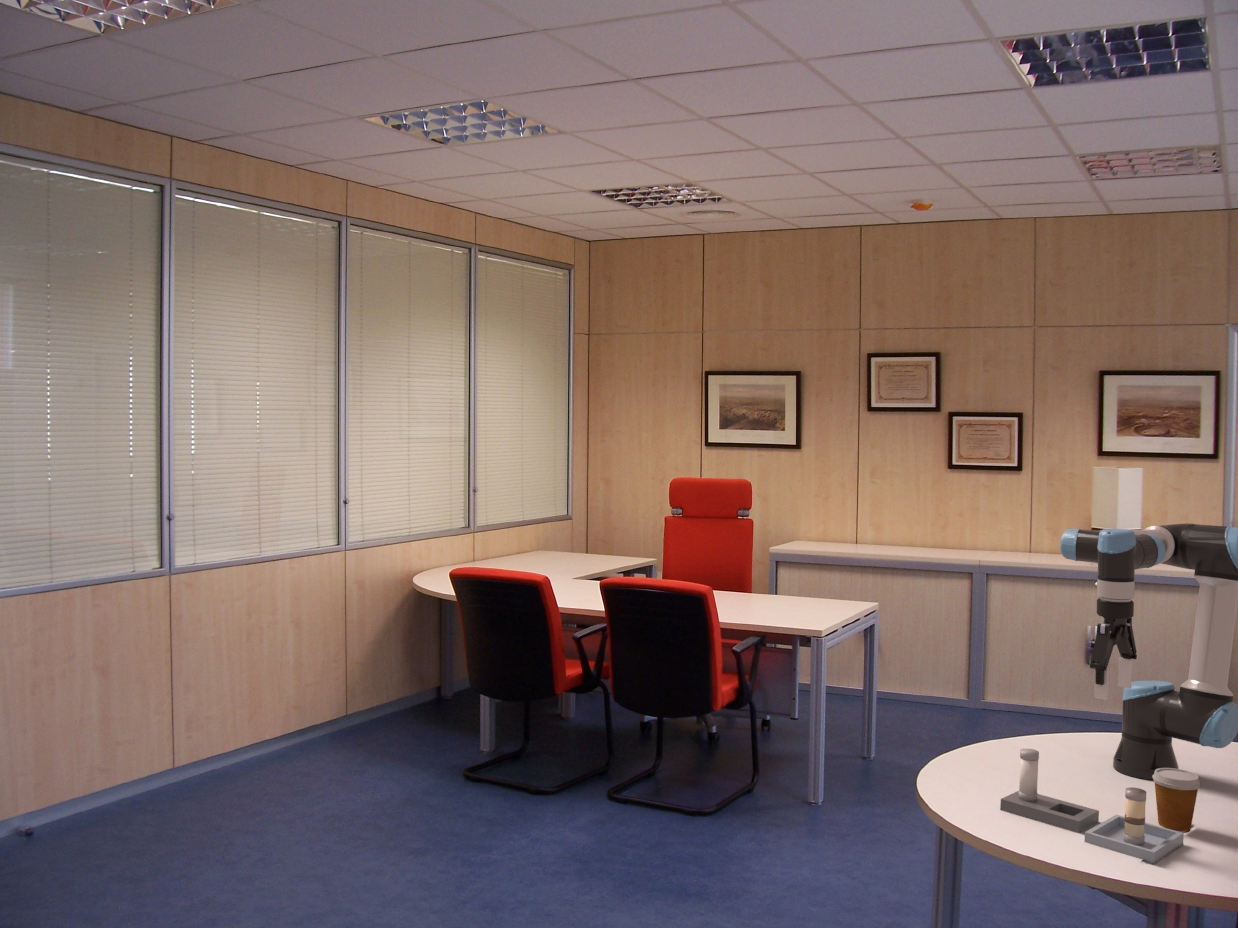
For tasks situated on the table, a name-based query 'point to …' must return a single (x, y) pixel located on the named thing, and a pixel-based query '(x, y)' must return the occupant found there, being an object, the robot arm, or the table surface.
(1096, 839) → the parts tray
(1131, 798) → the fuse
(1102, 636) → the robot arm
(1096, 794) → the table surface
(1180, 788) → the disposable coffee cup
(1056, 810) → the grey slotted block
